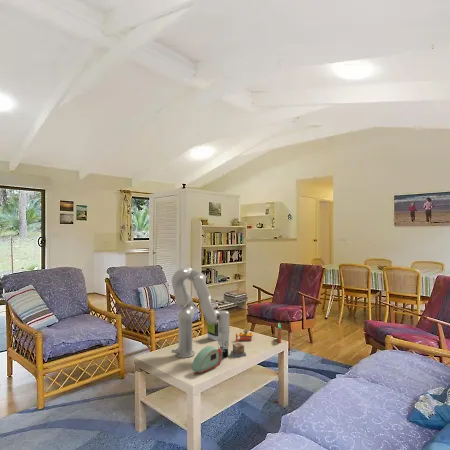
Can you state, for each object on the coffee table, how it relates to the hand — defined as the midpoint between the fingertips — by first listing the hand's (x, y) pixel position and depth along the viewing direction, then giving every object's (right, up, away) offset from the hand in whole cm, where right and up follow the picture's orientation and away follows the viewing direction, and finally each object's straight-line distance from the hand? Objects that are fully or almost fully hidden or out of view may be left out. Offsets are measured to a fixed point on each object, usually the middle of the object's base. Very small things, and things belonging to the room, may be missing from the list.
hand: (223, 355), depth 232 cm
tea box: (-4, -1, +40) cm, 40 cm away
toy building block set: (+27, -1, +31) cm, 41 cm away
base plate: (+10, -1, +1) cm, 10 cm away
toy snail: (-9, -1, -21) cm, 23 cm away
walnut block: (+10, +2, +2) cm, 10 cm away
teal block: (0, -1, 0) cm, 1 cm away
